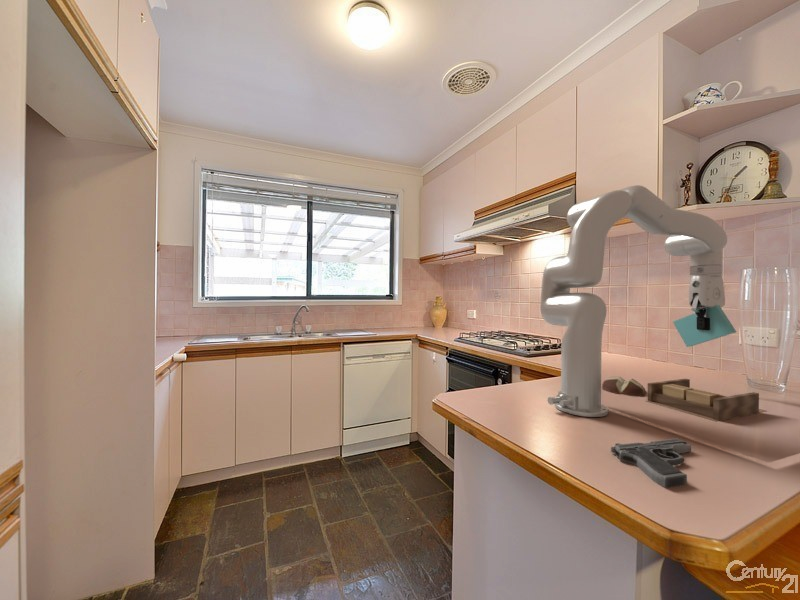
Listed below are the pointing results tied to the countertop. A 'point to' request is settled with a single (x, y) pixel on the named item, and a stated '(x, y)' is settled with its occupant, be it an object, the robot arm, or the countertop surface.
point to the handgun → (656, 459)
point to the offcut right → (701, 397)
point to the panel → (693, 336)
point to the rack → (721, 406)
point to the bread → (623, 386)
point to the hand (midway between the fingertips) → (705, 329)
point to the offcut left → (675, 391)
